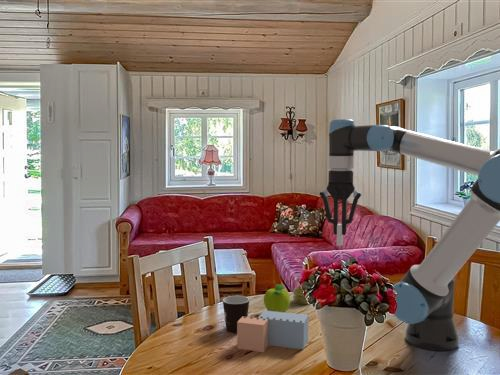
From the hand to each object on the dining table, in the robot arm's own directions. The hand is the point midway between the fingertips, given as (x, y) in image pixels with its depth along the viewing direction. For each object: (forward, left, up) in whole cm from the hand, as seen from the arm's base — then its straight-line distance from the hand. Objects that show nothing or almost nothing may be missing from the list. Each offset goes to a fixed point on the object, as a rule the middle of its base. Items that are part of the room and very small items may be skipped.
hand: (339, 244), depth 153 cm
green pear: (+17, -27, -29) cm, 43 cm away
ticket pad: (+15, +12, -28) cm, 34 cm away
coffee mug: (+32, +6, -29) cm, 43 cm away
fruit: (+23, -11, -29) cm, 38 cm away
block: (+23, +19, -28) cm, 41 cm away
